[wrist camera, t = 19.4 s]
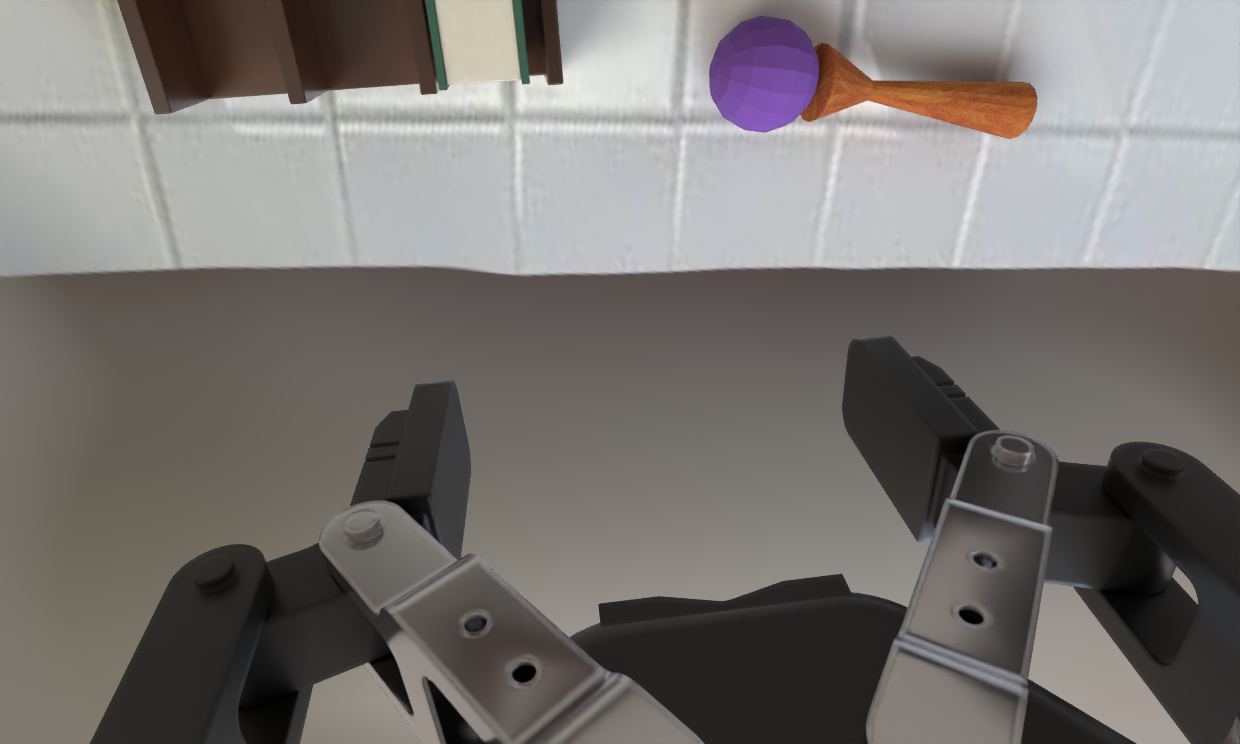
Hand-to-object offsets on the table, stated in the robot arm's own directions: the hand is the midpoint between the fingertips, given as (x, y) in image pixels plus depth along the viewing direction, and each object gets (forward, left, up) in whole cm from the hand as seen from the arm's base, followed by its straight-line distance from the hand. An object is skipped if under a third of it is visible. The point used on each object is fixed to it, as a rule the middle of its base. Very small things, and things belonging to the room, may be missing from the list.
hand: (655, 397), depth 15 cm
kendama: (-17, -7, -33) cm, 38 cm away
